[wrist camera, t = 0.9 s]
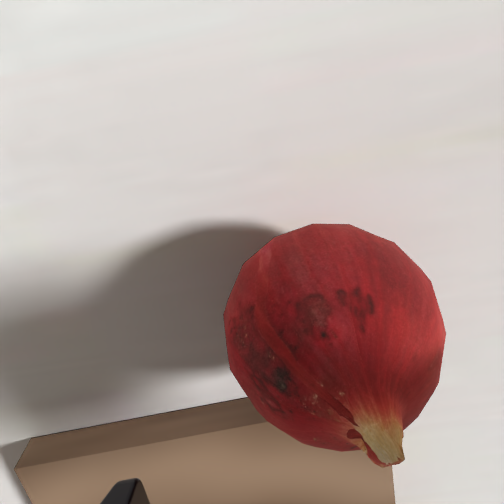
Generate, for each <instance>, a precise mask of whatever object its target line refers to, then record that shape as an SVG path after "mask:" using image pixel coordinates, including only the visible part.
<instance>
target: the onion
mask: <svg viewBox="0 0 504 504" xmlns="http://www.w3.org/2000/svg"><path fill="white" fill-rule="evenodd" d="M223 316H224V325H225V335H226V344H227V353H228V359H229V366H230V370H231V371H232V373H233V375H234V376H235V378H236V379H237V381H238V383H239V384H240V386H241V387H242V389H243V390H244V392H245V393H246V395H247V396H248V398H249V399H250V401H251V402H252V404H253V405H254V407H255V408H256V410H257V411H258V412H259V413H260V414H261V415H262V416H263V417H264V418H265V419H266V420H267V421H268V422H269V423H271V424H272V425H274V426H275V427H277V428H278V429H280V430H281V431H283V432H285V433H286V434H288V435H289V436H291V437H292V438H294V439H296V440H298V441H299V442H301V443H303V444H306V445H309V446H313V447H318V448H323V449H329V450H335V451H341V452H344V451H355V450H362V451H363V452H364V453H366V454H367V456H368V458H370V459H371V461H372V462H373V463H375V464H376V465H378V466H380V467H382V468H384V467H388V466H391V465H396V464H400V463H401V462H402V461H404V460H405V458H404V453H403V449H402V438H403V430H404V429H405V428H406V427H408V426H409V425H410V424H411V423H412V422H413V421H414V420H415V419H416V418H417V417H418V416H419V414H420V413H421V411H422V410H423V408H424V406H425V405H426V403H427V402H428V400H429V399H430V397H431V395H432V394H433V392H434V390H435V389H436V387H437V385H438V383H439V377H440V370H441V363H442V357H443V350H444V343H445V336H446V332H445V328H444V323H443V319H442V316H441V312H440V309H439V306H438V303H437V299H436V296H435V293H434V290H433V286H432V283H431V281H430V280H429V278H428V277H427V276H426V275H425V273H424V272H423V271H422V270H421V268H420V267H419V266H417V265H416V264H415V263H414V262H413V261H412V260H411V259H410V258H409V257H408V256H407V255H406V254H405V253H404V252H403V251H402V250H401V249H400V248H399V247H398V246H397V245H396V244H395V243H394V242H392V241H389V240H386V239H384V238H381V237H378V236H376V235H374V234H371V233H369V232H367V231H364V230H362V229H359V228H357V227H355V226H352V225H350V224H311V225H308V226H305V227H302V228H299V229H297V230H294V231H291V232H288V233H285V234H282V235H280V236H277V237H274V238H273V239H272V240H271V241H270V242H268V243H267V244H266V245H265V246H264V247H262V248H261V249H260V250H259V251H258V252H257V253H255V254H254V255H253V256H252V257H251V258H250V259H248V260H247V261H246V262H245V263H244V264H243V265H242V268H241V270H240V272H239V275H238V277H237V280H236V282H235V284H234V287H233V289H232V291H231V294H230V296H229V298H228V301H227V305H226V308H225V311H224V315H223Z"/></svg>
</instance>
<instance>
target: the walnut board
mask: <svg viewBox="0 0 504 504" xmlns="http://www.w3.org/2000/svg"><path fill="white" fill-rule="evenodd" d="M14 470H15V472H16V474H17V476H18V478H19V480H20V482H21V483H22V485H23V487H24V489H25V491H26V493H27V495H28V497H29V499H30V500H31V502H32V504H100V503H101V502H102V500H103V499H104V498H105V496H106V495H107V494H108V492H109V491H110V490H111V488H112V487H113V486H114V485H115V484H116V483H117V482H118V481H121V480H126V479H132V478H139V479H140V480H141V482H142V484H143V486H144V489H145V491H146V494H147V497H148V499H149V502H150V504H395V495H394V484H393V473H392V465H391V466H388V467H384V468H382V467H380V466H378V465H376V464H375V463H373V462H372V461H371V459H370V458H368V456H367V454H366V453H364V452H363V451H362V450H355V451H344V452H341V451H335V450H329V449H323V448H318V447H313V446H309V445H306V444H303V443H301V442H299V441H298V440H296V439H294V438H292V437H291V436H289V435H288V434H286V433H285V432H283V431H281V430H280V429H278V428H277V427H275V426H274V425H272V424H271V423H269V422H268V421H267V420H266V419H265V418H264V417H263V416H262V415H261V414H260V413H259V412H258V411H257V410H256V408H255V407H254V405H253V404H252V402H251V401H250V399H249V398H243V399H238V400H232V401H227V402H222V403H216V404H211V405H206V406H200V407H195V408H190V409H185V410H179V411H174V412H169V413H163V414H158V415H153V416H147V417H142V418H137V419H131V420H126V421H121V422H115V423H110V424H105V425H100V426H94V427H89V428H84V429H78V430H73V431H68V432H62V433H57V434H52V435H46V436H41V437H36V438H31V440H30V441H29V443H28V445H27V447H26V448H25V450H24V452H23V454H22V456H21V457H20V459H19V461H18V463H17V465H16V466H15V468H14Z"/></svg>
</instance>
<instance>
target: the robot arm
mask: <svg viewBox="0 0 504 504" xmlns="http://www.w3.org/2000/svg"><path fill="white" fill-rule="evenodd" d="M100 504H150V502H149V499H148V497H147V494H146V491H145V489H144V486H143V484H142V482H141V480H140V479H139V478H132V479H126V480H121V481H118V482H117V483H116V484H115V485H114V486H113V487H112V488H111V490H110V491H109V492H108V494H107V495H106V496H105V498H104V499H103V500H102V502H101V503H100Z"/></svg>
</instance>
